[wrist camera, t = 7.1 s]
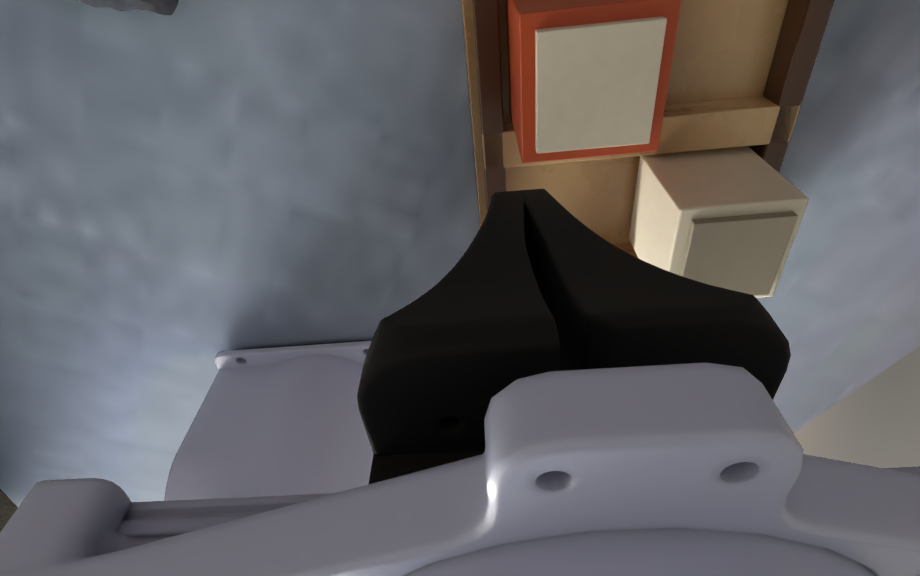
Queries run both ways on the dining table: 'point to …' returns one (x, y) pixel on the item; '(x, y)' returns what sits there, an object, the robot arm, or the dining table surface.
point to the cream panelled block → (716, 217)
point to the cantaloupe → (6, 509)
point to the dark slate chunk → (136, 5)
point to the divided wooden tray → (686, 109)
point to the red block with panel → (589, 75)
